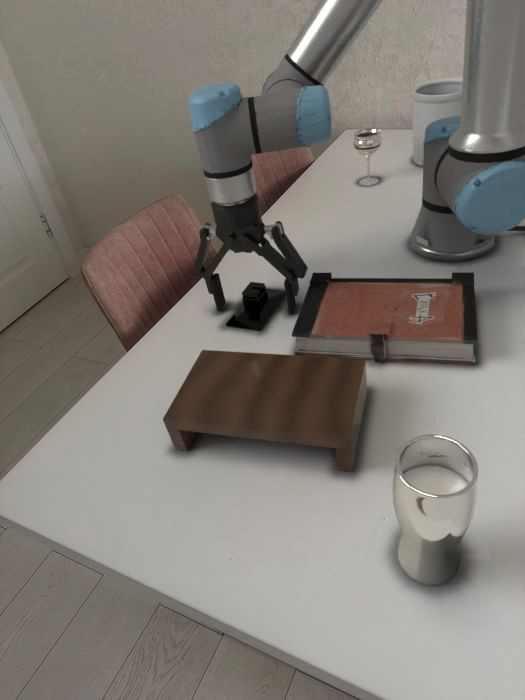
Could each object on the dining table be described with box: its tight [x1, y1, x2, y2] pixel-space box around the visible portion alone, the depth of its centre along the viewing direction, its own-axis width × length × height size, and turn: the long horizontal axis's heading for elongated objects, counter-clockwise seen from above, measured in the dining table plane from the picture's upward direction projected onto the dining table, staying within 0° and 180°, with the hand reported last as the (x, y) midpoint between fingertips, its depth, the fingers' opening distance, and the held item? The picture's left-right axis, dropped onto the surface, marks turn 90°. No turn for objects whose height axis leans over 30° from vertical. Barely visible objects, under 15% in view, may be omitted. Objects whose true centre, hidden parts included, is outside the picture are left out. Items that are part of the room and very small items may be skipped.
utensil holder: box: [411, 77, 463, 167], centre depth 126 cm, size 15×15×18 cm
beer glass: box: [392, 433, 479, 586], centre depth 46 cm, size 7×7×15 cm
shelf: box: [162, 349, 368, 473], centre depth 67 cm, size 24×14×6 cm, turn 74°
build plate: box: [225, 281, 286, 332], centre depth 89 cm, size 12×7×5 cm, turn 156°
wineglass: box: [353, 127, 383, 186], centre depth 124 cm, size 7×7×12 cm
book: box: [291, 271, 479, 366], centre depth 79 cm, size 26×18×5 cm
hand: (256, 308), depth 91 cm, fingers open, 13 cm apart
